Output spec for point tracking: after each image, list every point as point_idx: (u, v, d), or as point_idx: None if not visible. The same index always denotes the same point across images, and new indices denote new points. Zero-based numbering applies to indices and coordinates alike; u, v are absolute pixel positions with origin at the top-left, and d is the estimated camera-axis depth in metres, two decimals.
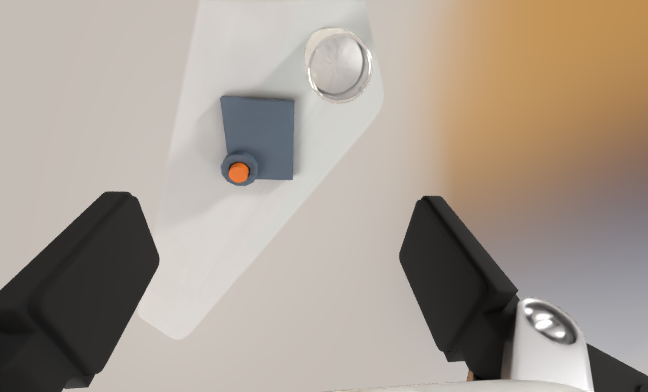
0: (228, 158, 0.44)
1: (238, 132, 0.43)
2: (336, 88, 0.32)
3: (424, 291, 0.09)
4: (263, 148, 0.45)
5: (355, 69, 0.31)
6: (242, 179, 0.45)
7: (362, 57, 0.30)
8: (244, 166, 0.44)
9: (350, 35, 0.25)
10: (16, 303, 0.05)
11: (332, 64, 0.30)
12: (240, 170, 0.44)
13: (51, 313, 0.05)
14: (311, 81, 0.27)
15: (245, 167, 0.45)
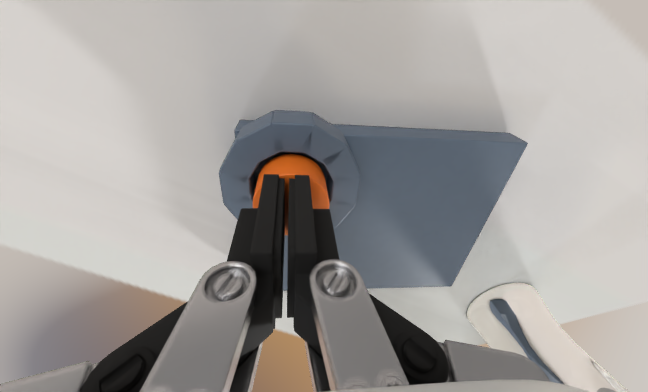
0: (348, 159, 0.11)
1: (414, 178, 0.14)
2: None
3: None
4: (353, 234, 0.15)
5: None
6: None
7: None
8: None
9: None
10: (272, 249, 0.06)
11: None
12: None
13: (278, 261, 0.07)
14: None
15: None
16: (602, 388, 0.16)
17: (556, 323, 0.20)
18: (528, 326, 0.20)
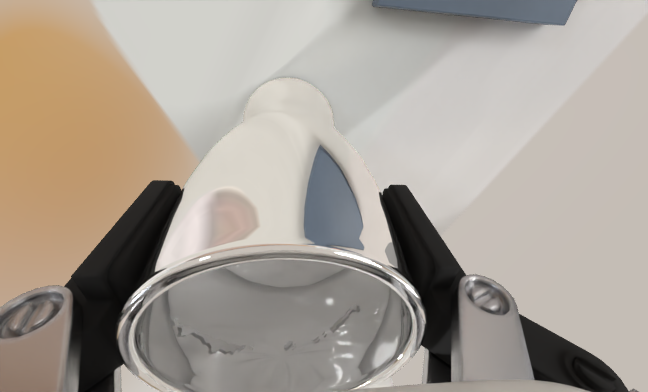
0: None
1: None
2: None
3: None
4: None
5: None
6: None
7: None
8: None
9: None
10: (101, 272, 0.05)
11: None
12: None
13: (124, 283, 0.06)
14: (421, 317, 0.06)
15: None
16: None
17: None
18: None
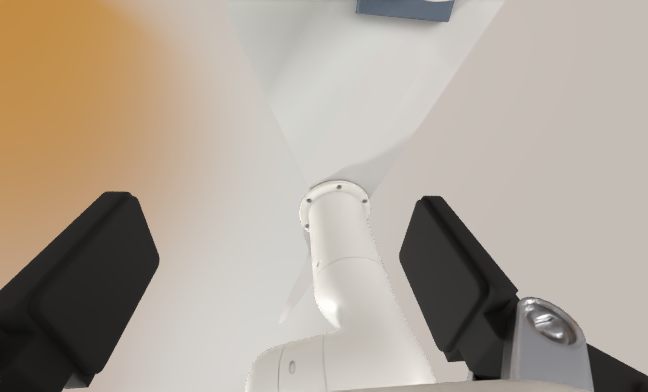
0: None
1: None
2: None
3: (424, 291, 0.09)
4: None
5: None
6: None
7: None
8: None
9: None
10: (16, 303, 0.05)
11: None
12: None
13: (51, 313, 0.05)
14: None
15: None
16: None
17: None
18: None
